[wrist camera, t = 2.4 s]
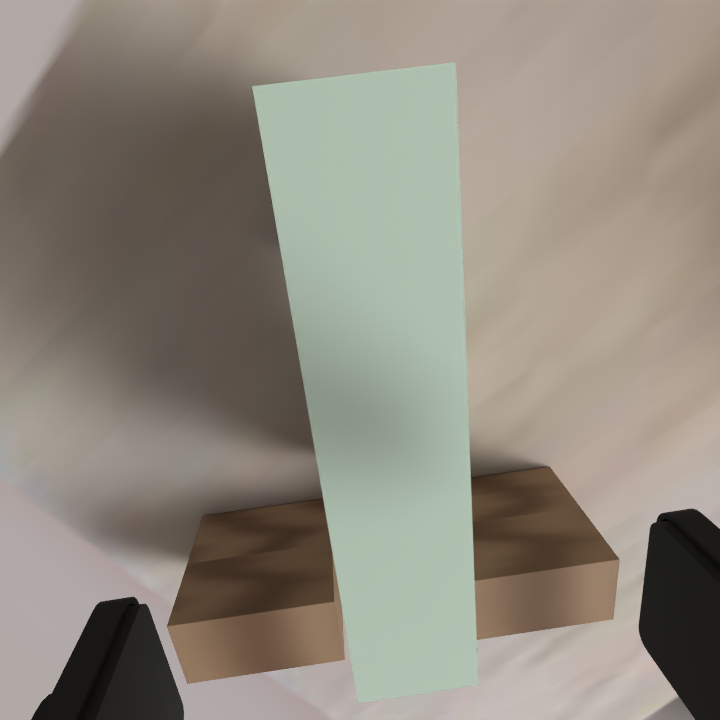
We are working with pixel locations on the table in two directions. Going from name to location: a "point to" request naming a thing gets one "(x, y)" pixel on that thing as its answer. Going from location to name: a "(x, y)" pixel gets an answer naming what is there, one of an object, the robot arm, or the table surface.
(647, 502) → the table surface
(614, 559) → the walnut slotted plate
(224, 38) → the table surface
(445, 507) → the sage slotted plate
